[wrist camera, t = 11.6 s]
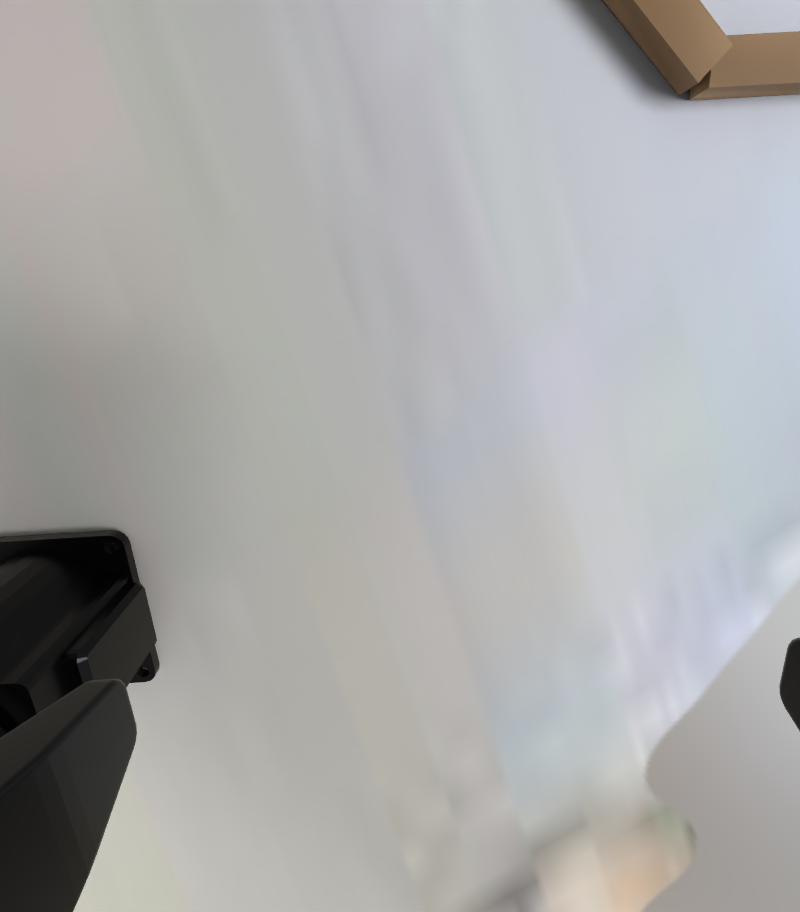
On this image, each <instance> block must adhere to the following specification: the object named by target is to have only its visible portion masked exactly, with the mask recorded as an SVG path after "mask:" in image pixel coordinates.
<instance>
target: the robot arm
mask: <svg viewBox="0 0 800 912" xmlns="http://www.w3.org/2000/svg"><path fill="white" fill-rule="evenodd" d="M110 542H114V543H115V544H116V545H117V546H118V549H115V548H113V547H112V546H111V545H110ZM156 641H157V638H156V634H155V630H154V626H153V622H152V617H151V613H150V609H149V605H148V601H147V597H146V592H145V588H144V587H143V586H142V585H141V583H140V581H139V577H138V573H137V569H136V565H135V561H134V557H133V552H132V548H131V544H130V541H129V539H128V537H127V536H126V535H125V534H124V533H122V532H119V531H99V532H82V533H66V534H49V535H33V536H16V537H0V912H73V910H74V908H75V906H76V904H77V901H78V899H79V897H80V894H81V892H82V890H83V887H84V885H85V883H86V880H87V878H88V876H89V873H90V871H91V868H92V865H93V863H94V860H95V857H96V855H97V852H98V849H99V846H100V843H101V841H102V838H103V835H104V832H105V829H106V826H107V823H108V821H109V818H110V815H111V812H112V809H113V806H114V803H115V801H116V798H117V795H118V792H119V789H120V786H121V783H122V780H123V778H124V775H125V772H126V769H127V766H128V763H129V760H130V758H131V755H132V752H133V749H134V746H135V742H136V734H137V730H136V723H135V719H134V715H133V711H132V708H131V704H130V700H129V697H128V693H127V689H126V687H127V686H128V684H129V683H136V682H147V681H150V680H152V679H153V678H154V676H155V675H156V673H157V671H158V670H159V660H158V656H157V652H156V648H155V643H156ZM141 666H143V667H146V668H147V669H148V670H145V669H143V668H142V667H141ZM780 696H781V699H782V702H783V704H784V706H785V708H786V710H787V712H788V713H789V715H790V716H791V718H792V720H793V721H794V722H795V724H796V726H797V727H798V729H799V731H800V638H796V639H794V640H792V641H791V643H790V644H789V645H788V648H787V653H786V658H785V662H784V667H783V672H782V677H781V681H780Z"/></svg>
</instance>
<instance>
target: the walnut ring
mask: <svg viewBox="0 0 800 912" xmlns="http://www.w3.org/2000/svg"><path fill="white" fill-rule="evenodd" d="M603 1H604V2H605V4H606V5H607V6H608V7H609V9H610V10H611V11H612V12H613V14H614V15H615V16H616V17H617V19H618V20H619V21H620V22H621V24H622V25H623V26H624V27H625V29H626V30H627V31H628V32H629V34H630V35H631V36H632V37H633V39H634V40H635V41H636V42H637V44H638V45H639V46H640V48H641V49H642V50H643V51H644V53H645V54H646V55H647V56H648V58H649V59H650V60H651V61H652V63H653V64H654V65H655V66H656V68H657V69H658V70H659V71H660V73H661V74H662V75H663V76H664V78H665V79H666V80H667V81H668V83H669V84H670V85H671V86H672V88H673V89H674V90H675V91H676V93H677V94H678V95H679V96H680V95H681V94H683V93H684V92H686V91H687V90H689V89H690V97H689V100H703V99H720V98H738V97H756V96H773V95H791V94H800V31H798V32H781V33H763V34H745V35H728V36H726V35H725V33H724V32H723V31H722V29H721V28H720V27H719V25H718V24H717V23H716V21H715V20H714V19H713V17H712V16H711V15H710V13H709V12H708V11H707V9H706V8H705V7H704V5H703V4H702V3H701V1H700V0H603Z"/></svg>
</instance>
